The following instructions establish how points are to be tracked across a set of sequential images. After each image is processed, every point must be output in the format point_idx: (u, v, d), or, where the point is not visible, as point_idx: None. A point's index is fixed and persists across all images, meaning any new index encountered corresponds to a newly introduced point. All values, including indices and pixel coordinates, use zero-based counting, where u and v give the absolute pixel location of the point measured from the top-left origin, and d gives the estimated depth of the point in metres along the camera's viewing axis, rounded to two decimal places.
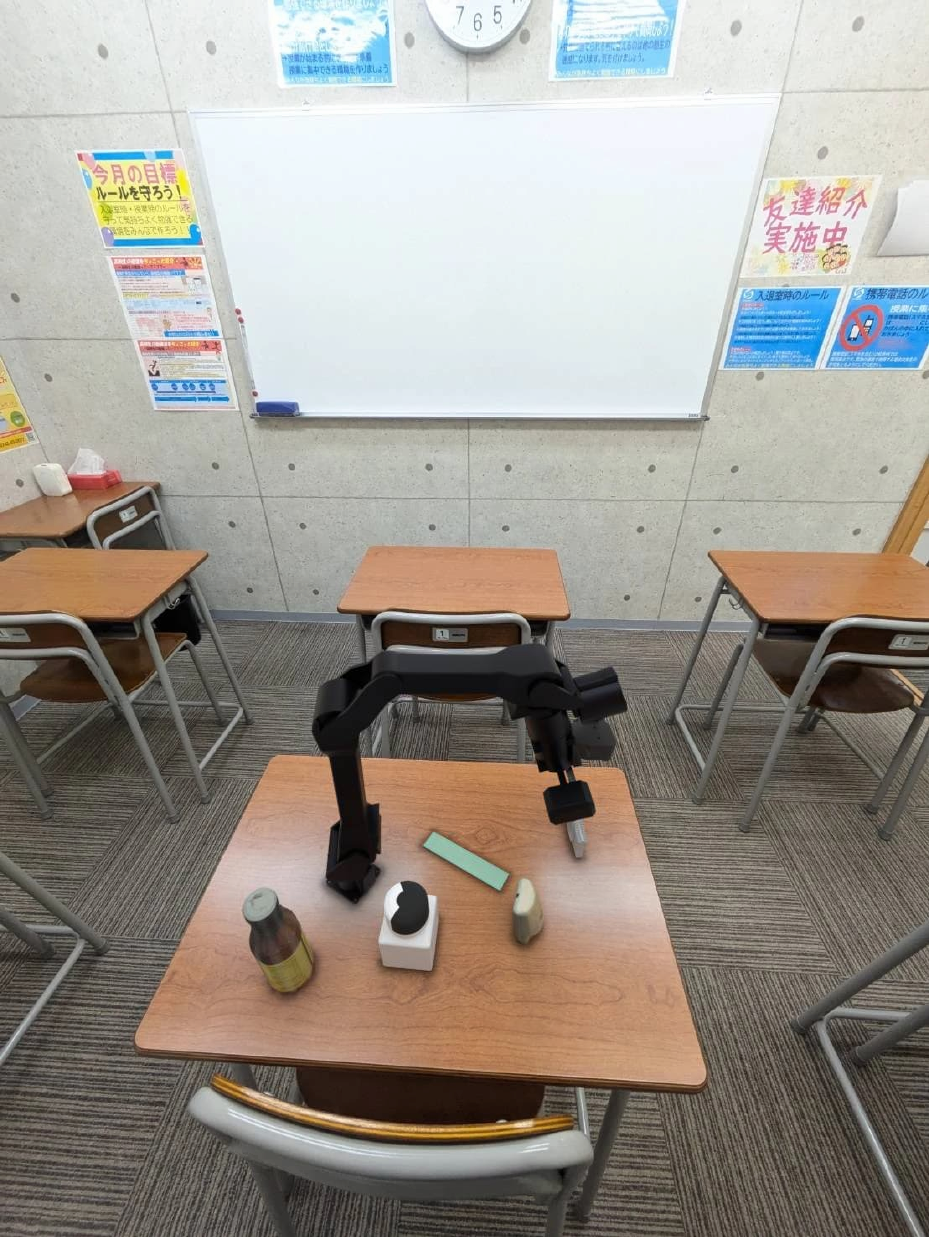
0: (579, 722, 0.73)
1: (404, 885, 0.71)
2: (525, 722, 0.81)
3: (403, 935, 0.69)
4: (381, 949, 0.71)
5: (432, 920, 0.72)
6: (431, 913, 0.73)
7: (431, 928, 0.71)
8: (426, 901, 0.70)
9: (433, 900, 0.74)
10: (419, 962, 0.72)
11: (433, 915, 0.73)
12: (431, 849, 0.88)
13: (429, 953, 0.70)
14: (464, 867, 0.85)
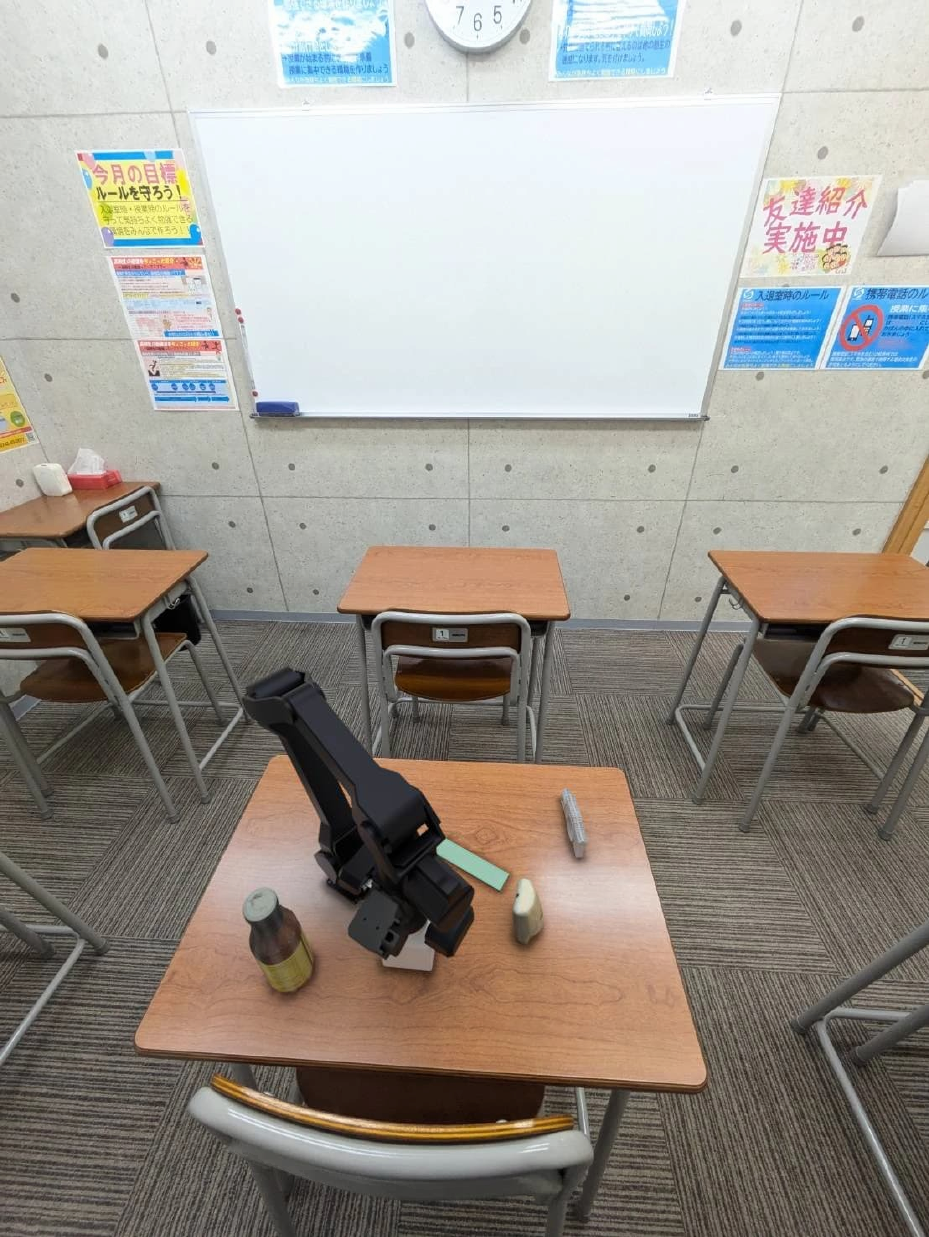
0: (392, 916, 0.63)
1: None
2: None
3: None
4: None
5: None
6: None
7: None
8: None
9: None
10: (419, 962, 0.72)
11: None
12: None
13: (429, 953, 0.70)
14: (464, 867, 0.85)
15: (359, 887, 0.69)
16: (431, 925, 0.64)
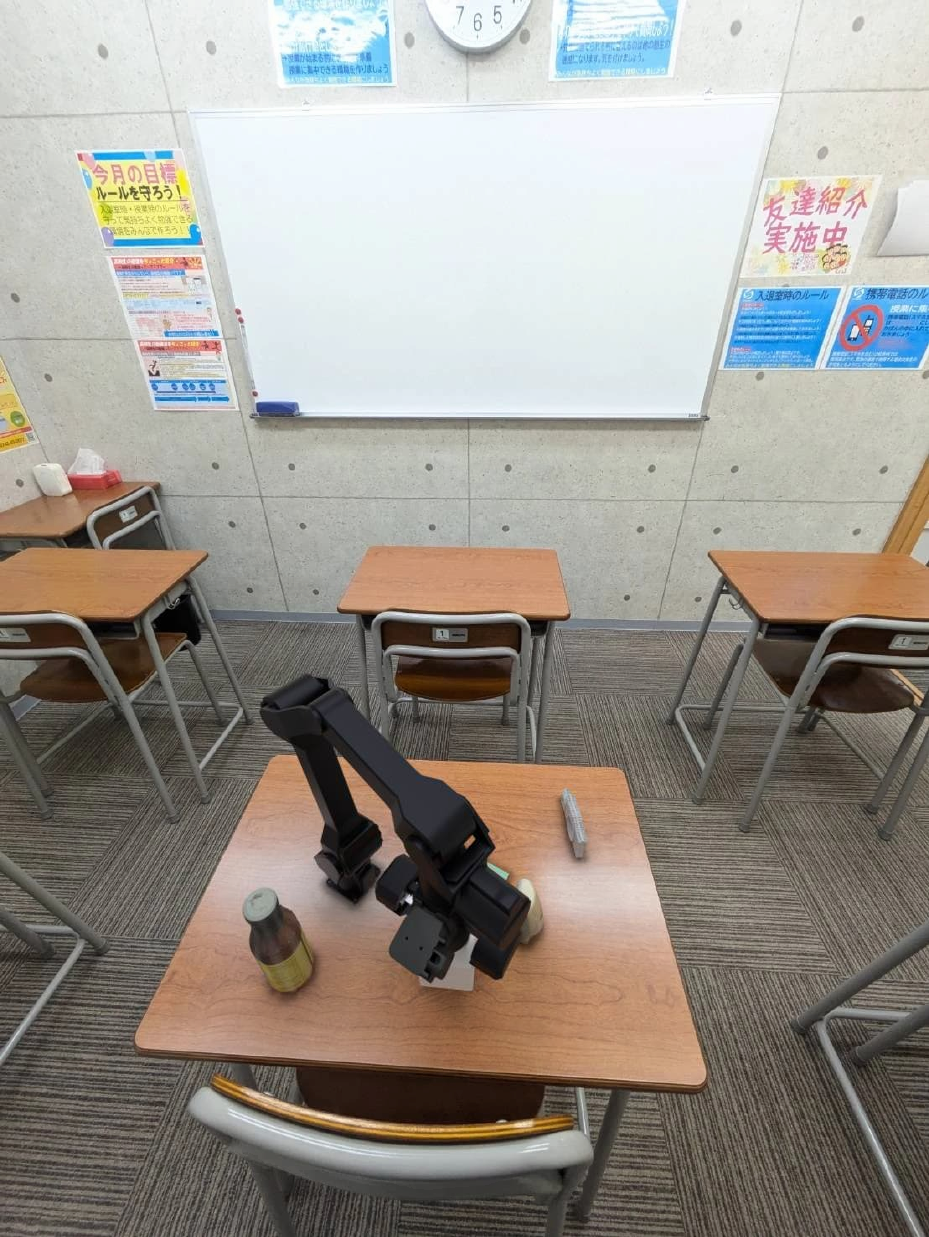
0: (437, 935, 0.58)
1: None
2: None
3: None
4: None
5: (473, 937, 0.67)
6: None
7: (473, 946, 0.66)
8: None
9: None
10: (460, 982, 0.67)
11: None
12: None
13: (471, 973, 0.65)
14: None
15: (397, 902, 0.64)
16: (477, 944, 0.59)
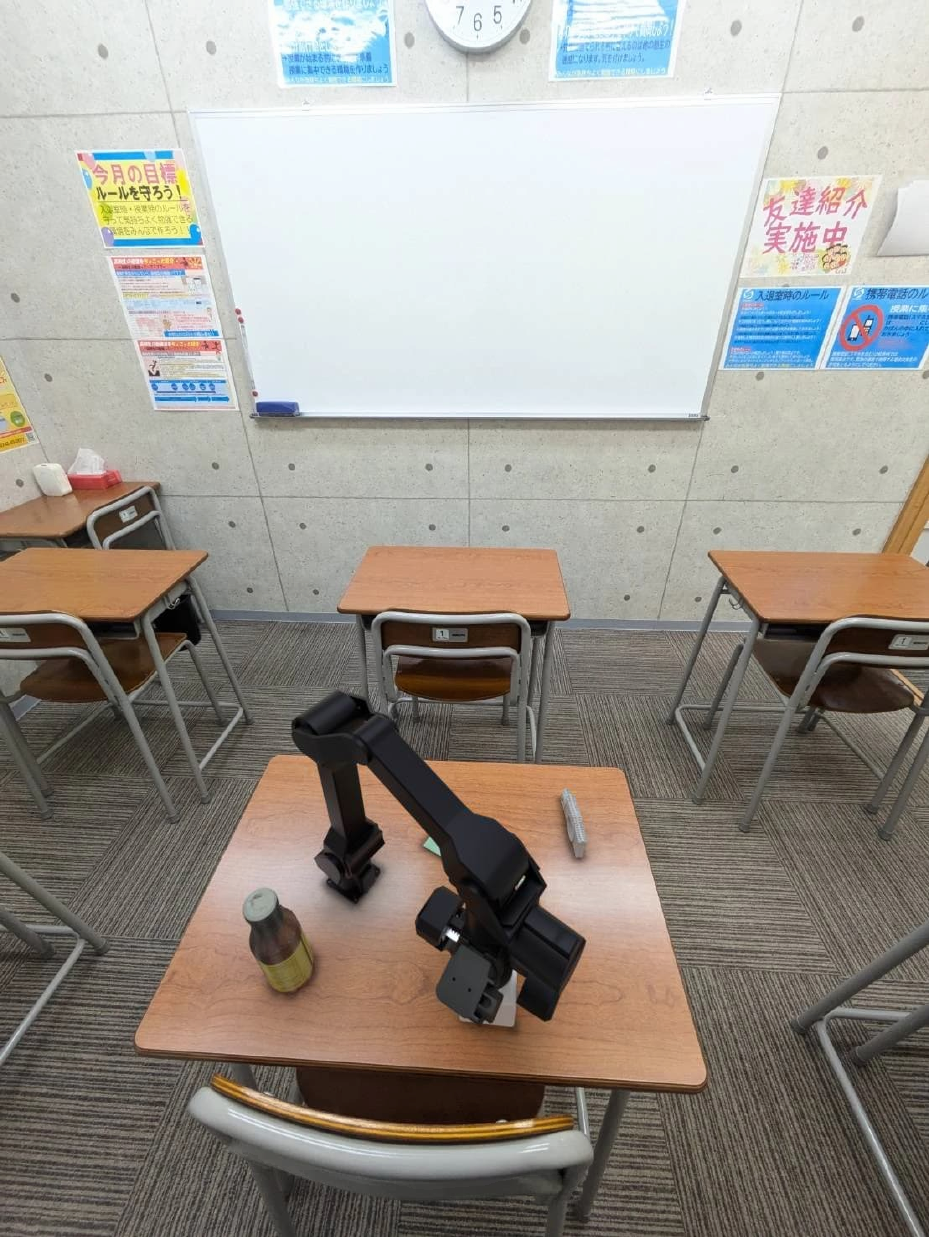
0: (485, 976, 0.56)
1: None
2: None
3: None
4: None
5: (515, 972, 0.66)
6: None
7: (515, 982, 0.65)
8: None
9: None
10: (502, 1018, 0.65)
11: None
12: (431, 849, 0.88)
13: (514, 1010, 0.64)
14: None
15: (439, 938, 0.63)
16: (526, 985, 0.58)
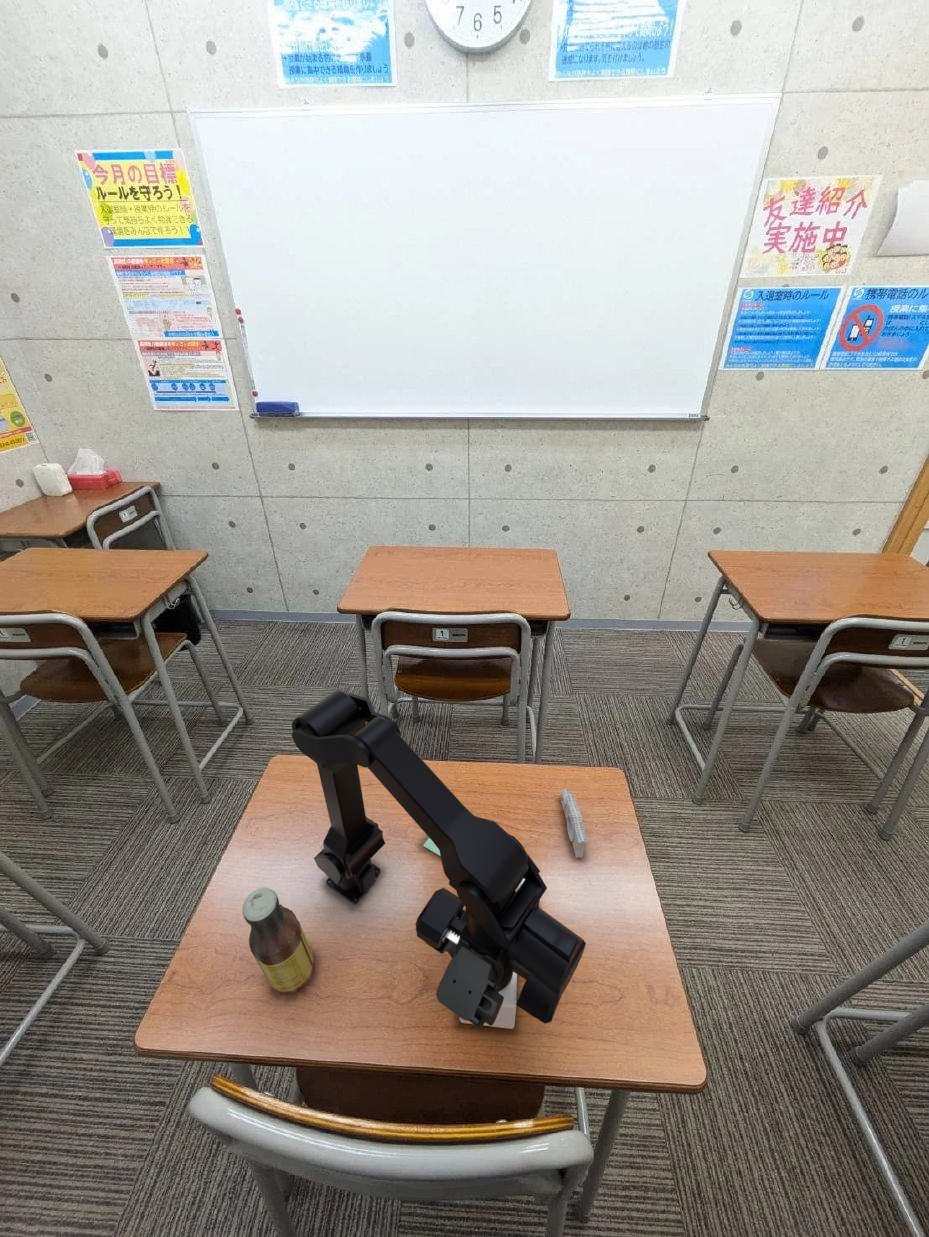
0: (486, 978, 0.57)
1: None
2: None
3: None
4: None
5: (515, 974, 0.66)
6: None
7: (515, 984, 0.65)
8: None
9: None
10: (501, 1020, 0.66)
11: None
12: (431, 849, 0.88)
13: (514, 1012, 0.64)
14: None
15: (440, 940, 0.63)
16: (526, 987, 0.58)
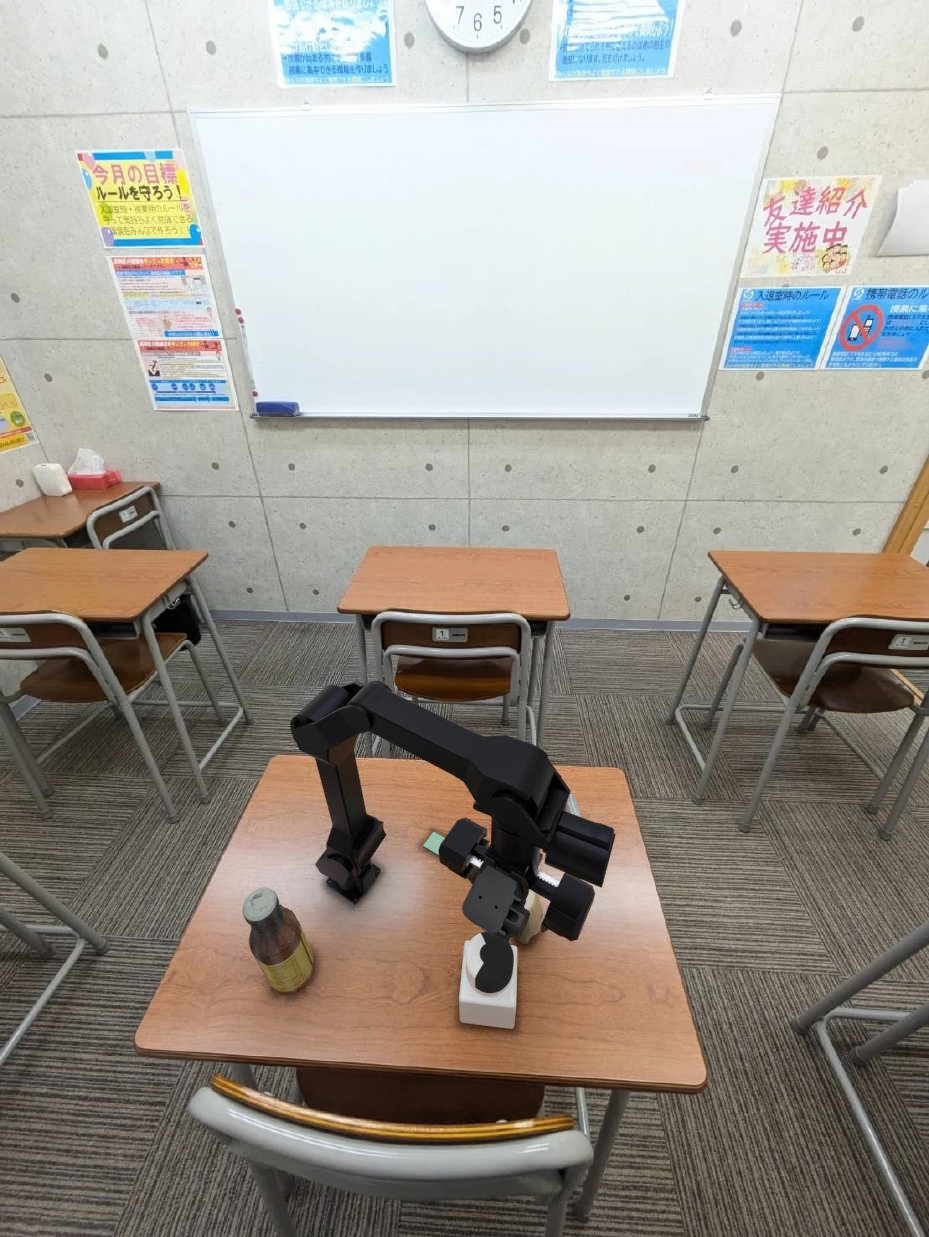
0: (512, 894, 0.56)
1: (486, 936, 0.66)
2: (583, 881, 0.61)
3: (487, 994, 0.63)
4: (461, 1007, 0.65)
5: (515, 974, 0.66)
6: (513, 966, 0.67)
7: (515, 984, 0.65)
8: (512, 956, 0.64)
9: (514, 951, 0.68)
10: (501, 1020, 0.66)
11: (516, 968, 0.67)
12: (431, 849, 0.88)
13: (514, 1012, 0.64)
14: None
15: (463, 864, 0.63)
16: (552, 905, 0.58)
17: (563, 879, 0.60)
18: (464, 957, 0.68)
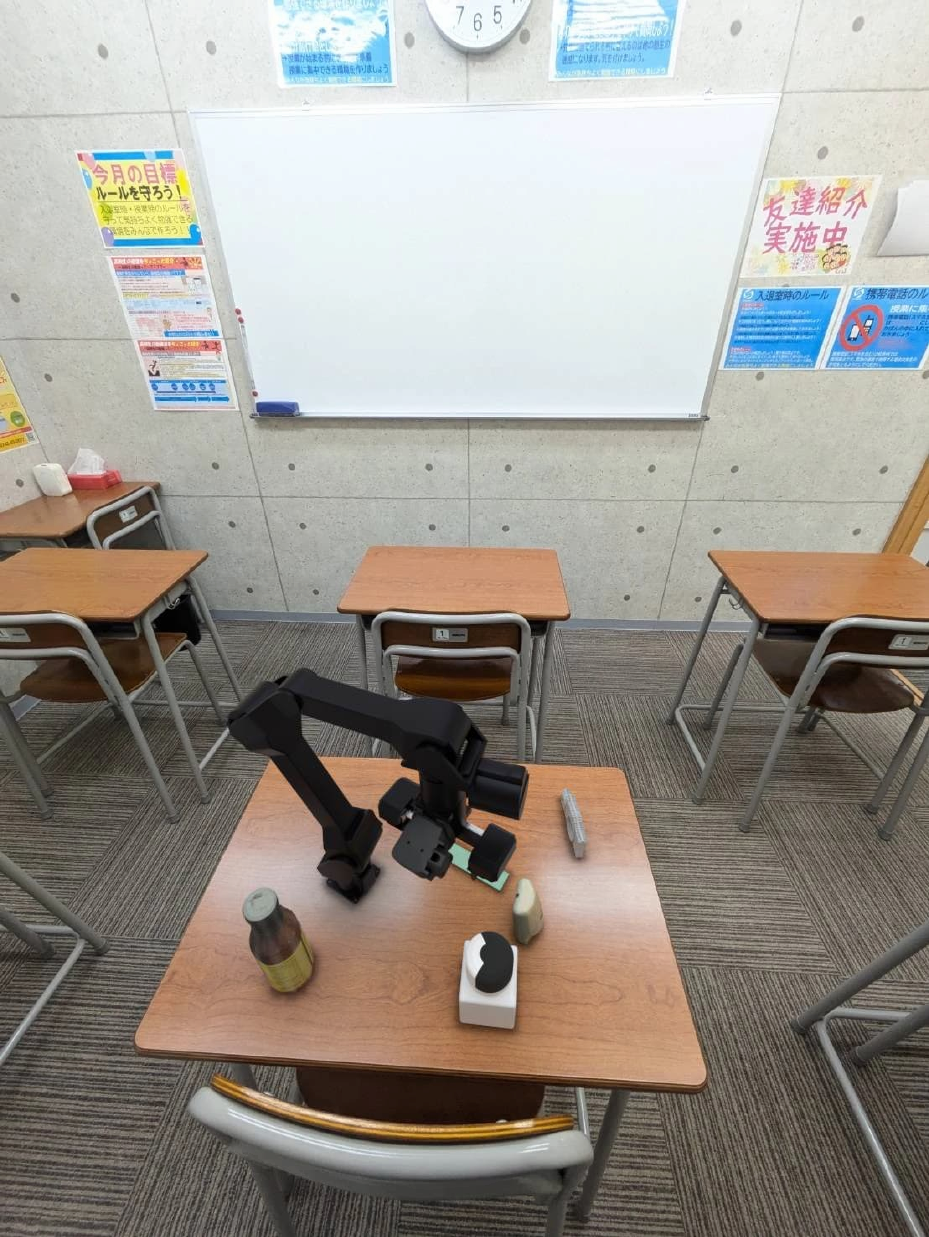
0: (437, 839, 0.62)
1: (486, 936, 0.66)
2: None
3: (487, 993, 0.63)
4: (461, 1007, 0.65)
5: (515, 974, 0.66)
6: (513, 966, 0.67)
7: (515, 984, 0.65)
8: (512, 956, 0.64)
9: (514, 951, 0.68)
10: (501, 1020, 0.66)
11: (516, 968, 0.67)
12: None
13: (514, 1012, 0.64)
14: (464, 867, 0.85)
15: (399, 817, 0.68)
16: (475, 850, 0.63)
17: (488, 828, 0.66)
18: (464, 957, 0.68)
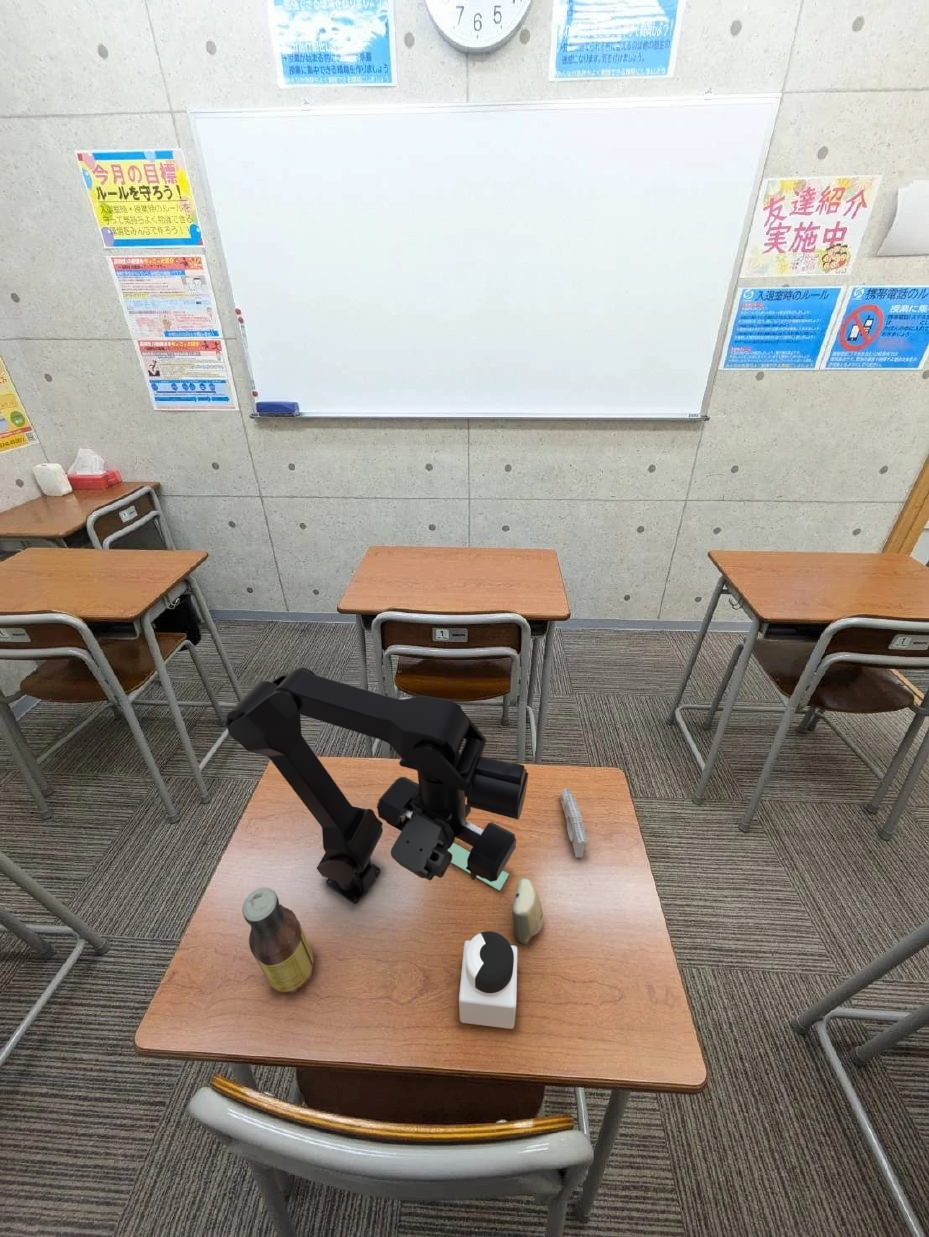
0: (436, 838, 0.62)
1: (486, 936, 0.66)
2: (506, 830, 0.67)
3: (487, 994, 0.63)
4: (461, 1007, 0.65)
5: (515, 974, 0.66)
6: (513, 966, 0.67)
7: (515, 984, 0.65)
8: (512, 956, 0.64)
9: (514, 951, 0.68)
10: (501, 1020, 0.66)
11: (516, 968, 0.67)
12: None
13: (514, 1012, 0.64)
14: (464, 867, 0.85)
15: (398, 816, 0.68)
16: (474, 849, 0.63)
17: (487, 828, 0.66)
18: (464, 957, 0.68)
